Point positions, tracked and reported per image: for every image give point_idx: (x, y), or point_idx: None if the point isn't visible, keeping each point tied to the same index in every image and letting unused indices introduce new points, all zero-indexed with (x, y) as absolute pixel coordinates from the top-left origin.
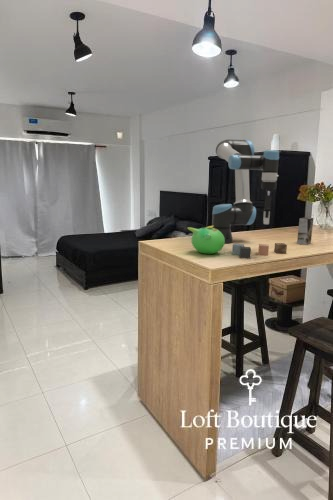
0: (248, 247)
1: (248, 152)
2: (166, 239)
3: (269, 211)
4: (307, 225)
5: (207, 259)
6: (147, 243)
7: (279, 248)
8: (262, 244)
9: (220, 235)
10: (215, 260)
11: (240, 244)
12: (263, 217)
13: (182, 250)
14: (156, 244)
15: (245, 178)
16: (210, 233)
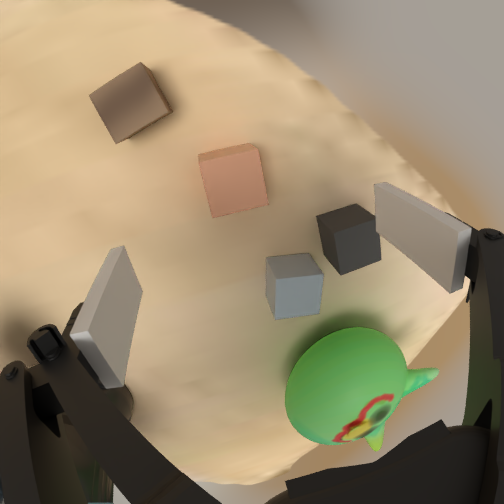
0: (349, 236)
1: None
2: (189, 476)
3: (470, 234)
4: None
5: (412, 314)
6: (270, 474)
7: (164, 101)
8: (221, 195)
9: (388, 365)
10: (418, 292)
11: (288, 292)
12: (137, 313)
13: None
14: (271, 464)
15: None
16: (404, 388)
